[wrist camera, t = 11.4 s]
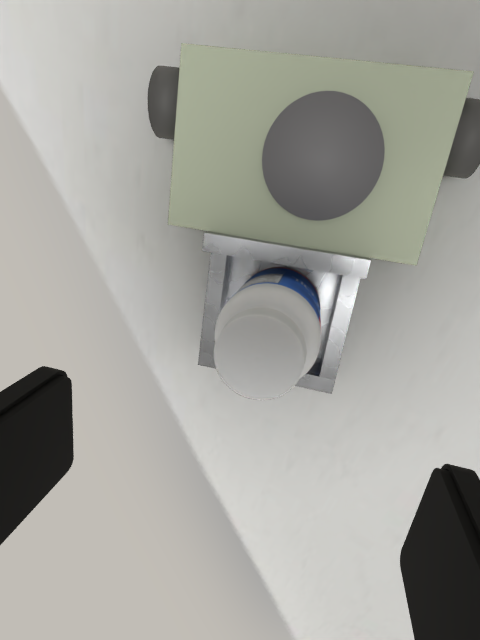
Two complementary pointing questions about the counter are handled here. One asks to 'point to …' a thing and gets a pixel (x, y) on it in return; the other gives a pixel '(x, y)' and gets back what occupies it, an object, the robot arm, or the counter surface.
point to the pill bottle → (268, 334)
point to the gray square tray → (317, 265)
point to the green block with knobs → (312, 147)
